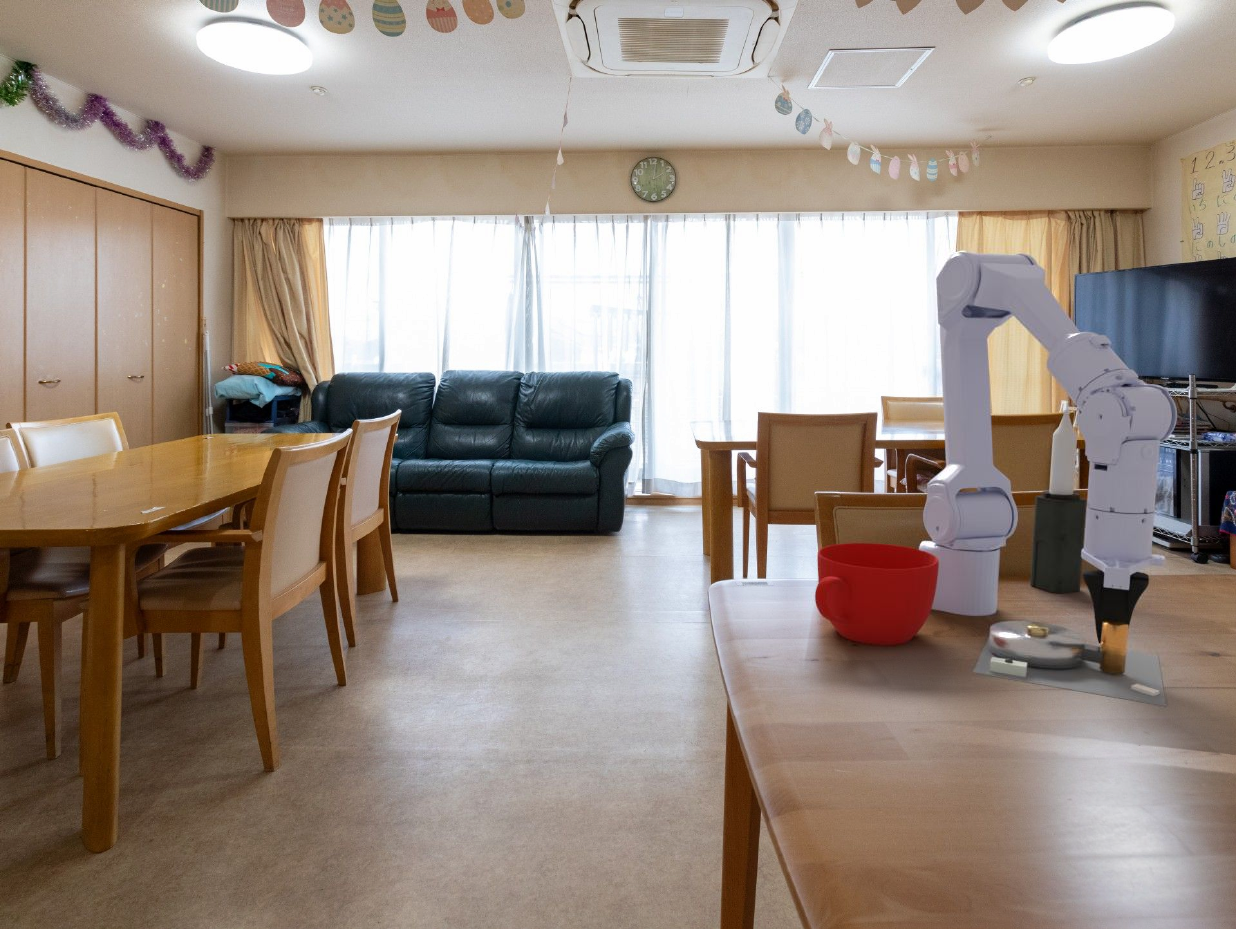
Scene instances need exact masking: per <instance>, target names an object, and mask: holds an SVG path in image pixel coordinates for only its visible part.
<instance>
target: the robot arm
mask: <svg viewBox="0 0 1236 929" xmlns="http://www.w3.org/2000/svg"><path fill="white" fill-rule="evenodd" d="M1045 280H1046V270H1045V269H1044V268H1043V267H1042V266H1040V265H1039V264H1038V263H1037V260H1036V259H1035V258H1034V257H1033V256H1031V255H1030V254H1027V253H1018V254H1017V253H1016V254H1011V253H1010V254H1004V253H981V252H971V251H970V252H969V251H966V250H960V251H957V252H955V253H953V254H951V255H950V257H949V258H948V259H947V260H946V262H945V263H944V265H943V267H942V268H941V269H940V272H939V274H937V276H936V279H935V282H936V301H937V302H936V305H937V321H938V325H939V340H940V341H939V342H940V357H941V358H940V361H941V364H940V365H941V384H942V385H941V386H942V403H943V404H942V406H943V427H944V428H943V430H944V446H945V448H944V449H945V467H944V469H942V470H941V471H940V472H939V473H937V474H936V475H935V476H934V477H933V478H932V479H930V480H929V482H927V483H926V493H927V494H926V495H927V496H926V501H925V505H924V508H923V512H922V516H923V517H922V518H923V519H922V520H923V524H924V527H925V530H926V532H927V534H928V535H929V537H930V538H931V540H923V541H921V543H919V547H918V550H922V551H925V552H928V553H930V554H932V555H934V556H936V557H937V559H938V560H939V568H938V578H937V585H936V592H935V597H934V601H933V605H932V608H931V610H935V611H942V612H945V613H950V614H955V615H960V616H961V615H962V616H971V617H974V616H975V617H976V616H977V617H981V616H991V615H994V614H996V613H997V608H998V606H997V605H998V594H999V592H998V591H999V590H998V588H999V576H1000V575H999V574H1000V572H999V571H1000V557H1001V547H1006V546H1007V545H1006V544H1007V543H1006V542H1007V539H1008V538H1010V537H1011V536H1012V535H1013V534H1014V533H1015V531H1016V529H1017V525H1018V521H1019V516H1018V515H1019V514H1018V507H1017V505H1016V502H1015V500H1014V497H1013V494H1012V486H1011V484H1012V483H1011V480H1010V478H1009V477H1007V476H1006V475H1004V473H1002V471H1000V470H999V469H998V468H996V467H995V465H994V456H993V452H994V451H993V432H992V413H991V394H990V392H991V391H990V370H989V368H990V367H989V349H988V346H989V345H988V338H989V337H990V335H991V334H992V333H993V331H994V330H995V329H996V328H998V327H1001V326H1002V325H1004V324H1005V323H1006V322H1008V321H1009V320H1010V319H1011V318H1012V317H1014V318H1016V320H1017V321H1018V322H1019V323H1020V324H1021V325H1022V326H1023V327H1024V328H1025V329H1026V330H1027V331H1028V332H1029V333H1030V335H1032V336H1033V338H1035V339H1036V340H1037V342H1038V343H1039V344H1041V346H1042V347H1043V348H1044V349H1045V350H1047V352H1048V356H1047V360H1046V368H1047V370H1048V372H1049V373H1050V374H1051V376H1052V377H1053V378H1054V380H1056V382H1057V383H1058V384H1059V385H1060V387H1061V388H1062V389H1063V391H1064V392H1065V393H1066V394H1067V396H1068V397H1069V398H1070V400H1071V401H1072V402H1073V404H1074V405H1075V406H1076V407H1077V408H1078V410H1079V411H1080V413H1078V414H1077V415H1076V416H1077V425H1078V429H1079V432H1080V434H1081V436H1082V437H1083V440H1084V443H1085V451H1084V456H1086V457H1087V461H1088V462H1089V471H1088V482H1087V483H1088V486H1087V498H1086V514H1085V528H1084V542H1083V549H1082V552H1081V557H1082V560H1083V561H1085V562H1087V563H1088V564H1090V565H1092V566H1094V567H1095V568H1097V569H1093V568H1092V569H1091V568H1090V569H1089V568H1088V569H1087V568H1083V570H1082V578H1083V581H1084V583H1085V585H1086V586H1087V589H1088V591H1089V594H1090V597H1091V602H1092V605H1093V615H1094V623H1095V632H1096V637H1097V641H1098V644H1101V634H1102V621H1104V620H1116V621H1121V622H1125V623H1127V624H1128V630H1129V628H1130V623H1131V619H1132V616H1133V612H1134V610H1135V607H1136V605H1137V603H1138V601H1139V600H1140V597H1141V596H1142V595H1143V594H1144V592H1145V591H1146V589H1147V588H1148V586H1149V585H1150V584H1149V583H1150V577H1149V574H1147V573H1145V572H1142V571H1143V570H1145V569H1147V568H1149V567H1152V566H1158V567H1164V566H1165V565H1166V557H1165V555H1160V554H1152V550H1153V548H1152V546H1153V536H1154V535H1153V534H1154V522H1155V511H1156V510H1155V507H1156V494H1157V484H1158V483H1157V481H1158V469H1159V457H1160V456H1159V454H1160V445H1161V444H1160V443H1161V442H1163V441H1165V440H1166V439H1168V438H1169V437H1170V436H1171V435H1172V433H1173V432H1174V430H1175V428H1176V424H1177V420H1178V410H1177V409H1178V408H1177V405H1176V402H1175V401H1174V398H1173V397H1172V396H1171V395H1170V392H1169V390H1168V389H1167V388H1166V387H1164V386H1162V385H1159V384H1151V383H1150V384H1148V383H1147V382H1145V381H1144V380H1143V379H1139V375H1138V374H1137V372H1136V371H1135V370H1134V369H1130V368H1129V367H1128V366H1127V364H1125V363H1124V361H1123V360H1121V358H1120V357H1119V356H1118V355H1117V354H1116V352H1115V351H1114V350H1113V349H1112V348H1111V347H1110V346H1111V345H1112V341H1111V340H1110V339H1109V338H1108V336H1107V335H1105V334H1101V335H1100V334H1098V333H1097V332H1093V331H1083V332H1081V331H1080V330H1079V329H1078V327H1077V326H1076V325H1075V323H1074V322H1073V321H1072V319H1071V318H1070V316H1069V315H1068V313H1067V312H1066V311H1065V310H1064V308H1063V307H1062V305H1061V304H1060V302H1059V301H1058V300H1057V298H1056V297H1055V296H1054V294H1053V293H1052V292H1051V290H1050V289H1049V287H1048V286H1047V284H1046V283H1045V282H1046V281H1045ZM974 488H975V489H977V490H978V491H961V490H963V489H964V490H965V489H974Z"/></svg>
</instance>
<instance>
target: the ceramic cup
mask: <svg viewBox="0 0 1236 929" xmlns="http://www.w3.org/2000/svg"><path fill="white" fill-rule="evenodd" d="M816 561H817V579H818V584H817V585H816V588H815V593H814V603H815V605H816V608H817V610H818V612H819V614H820V615H821V617H823V618H824V619H826V620H827V621H829V622H830V624H831V625H832V626H833V628H834V629H835V630H836V631H837V633H838V634H839V635H840V636H842V637H843V638H846V639H847V640H850V641H853V642H857V643H860V644H861V643H862V644H866V645H875V646H876V645H877V646H895V645H901V644H905V643H907V642H908V643H909V641H910V640H912V639H913V638H914V636H916V635H917V634H918V632H919V631H920V630H921V629H922V628H923V626H924V625H925V623H926V621H927V620H928V618H929V615H930V613H931V611H932V609H931V608H932V605H933V601H934V597H935V592H936V585H937V578H938V568H939V560H938V559H937V557H936V556H934V555H932V554H930V553H928V552H925V551H922V550H919V548H918V549H917V548H913V547H909V546H902V545H895V544H888V543H887V544H886V543H877V542H876V543H873V542H852V543H851V542H850V543H849V542H847V543H837V544H830V545H827V546H823V547H822V548H819V550H817V560H816Z"/></svg>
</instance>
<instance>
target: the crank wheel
mask: <svg viewBox="0 0 1236 929" xmlns="http://www.w3.org/2000/svg"><path fill="white" fill-rule="evenodd" d="M989 635H990V637H989V636H988V637H989V649H990V650H991V651H992V652H993V653H994V654H996V655H997V656H999V657H1001V658H1004V659H1007V658H1010V659H1011V660H1014V661H1020V662H1026V663H1027V665H1029V666H1035V667H1043V668H1072V667H1077V666H1080V665H1082V664H1084V662H1085V660H1086V661H1090V662H1095V663H1099V669H1101V670H1102V671H1105V672H1109V673H1115V674H1122V673H1125V664H1126V651H1128V650H1127V648H1128V635H1129V629H1128V624H1127V623H1125V622H1121V621H1116V620H1104V621H1102V634H1101V643H1100V646H1098V645H1093V644H1089V643H1087V638H1086V637H1085V636H1084V635H1082V634H1081V633H1079V632H1076V631H1075V630H1073V629H1070V628H1066V627H1063V626H1060V625H1055V624H1051V623H1046V622H1045V623H1044V622H1037V621H1028V620H1006V621H1000V622H996V623H993V624H992V625H990V626H989Z"/></svg>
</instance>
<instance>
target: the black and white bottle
mask: <svg viewBox="0 0 1236 929" xmlns="http://www.w3.org/2000/svg"><path fill="white" fill-rule="evenodd" d="M1062 413H1063V416H1062V418H1061V421H1060V423H1059V426H1058V427H1057V428H1056V429H1055V431H1054V432H1053V433H1052V447H1051V458H1050V459H1051V461H1050V476H1049V490H1043V491H1042V493H1041V494H1042V495H1036V496H1035V501H1034V502H1035V503H1034V519H1033V532H1032V533H1033V534H1032V552H1031V564H1030V579H1029V580H1030V581H1029V583H1030V584H1029V585H1030V586H1031V587H1034V588H1037V589H1041V590H1043V591H1046V592H1049V593H1054V594H1063V593H1064V594H1065V593H1075V592H1080V591H1081V584H1082V582H1081V581H1082V572H1083V570H1082V568H1083V559H1082V557H1081V552H1082V549H1083V548H1084V541H1085V526H1086V511H1087V498H1086V499H1085V498H1083V497H1081V494H1080V493H1078V492H1074V490H1075V489H1074V488H1075V487H1074V486H1075V471H1076V459H1077V458H1076V456H1077V444H1078V443H1077V442H1078V434H1077V432H1076V430H1075V429H1074V427H1073V425H1072V420H1071V418H1070V414H1071V411H1070V410H1069V409H1067V408H1066V409H1063V411H1062Z"/></svg>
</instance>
